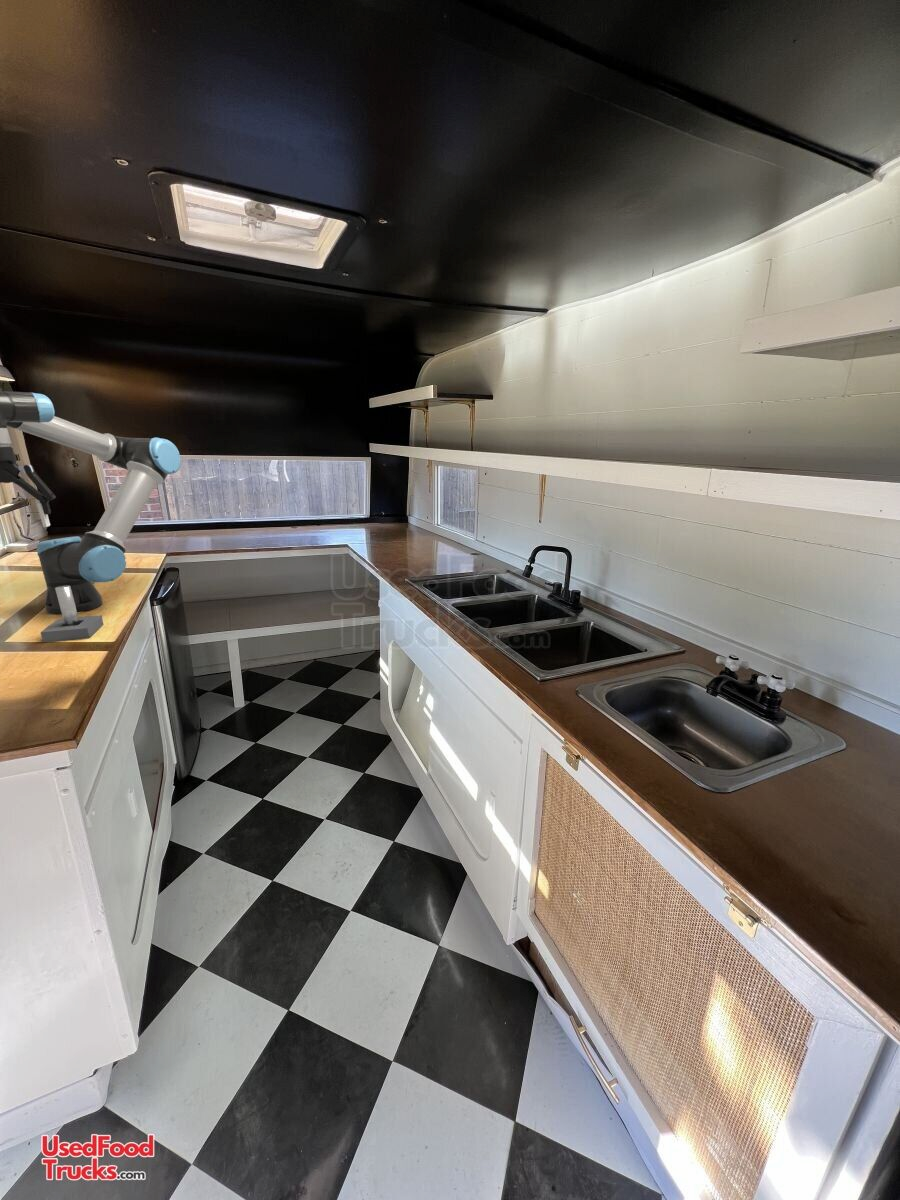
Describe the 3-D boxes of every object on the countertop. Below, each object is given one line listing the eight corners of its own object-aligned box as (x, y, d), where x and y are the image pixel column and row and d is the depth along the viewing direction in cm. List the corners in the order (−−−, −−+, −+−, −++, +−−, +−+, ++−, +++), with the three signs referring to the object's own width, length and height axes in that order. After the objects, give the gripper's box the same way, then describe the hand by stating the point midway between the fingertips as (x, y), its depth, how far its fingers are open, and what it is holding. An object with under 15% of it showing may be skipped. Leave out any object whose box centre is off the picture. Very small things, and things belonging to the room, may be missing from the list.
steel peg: (70, 631, 141) (58, 585, 136) (83, 630, 142) (72, 584, 137) (65, 636, 138) (52, 589, 133) (79, 634, 138) (67, 588, 134)
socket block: (60, 628, 143) (58, 618, 142) (103, 624, 146) (101, 615, 145) (43, 642, 133) (40, 632, 132) (89, 638, 136) (87, 628, 135)
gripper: (-80, 446, 117) (-51, 533, 124) (45, 446, 125) (66, 527, 132) (-62, 445, 123) (-35, 528, 130) (56, 445, 132) (75, 522, 139)
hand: (16, 527), depth 131 cm, fingers open, 13 cm apart
